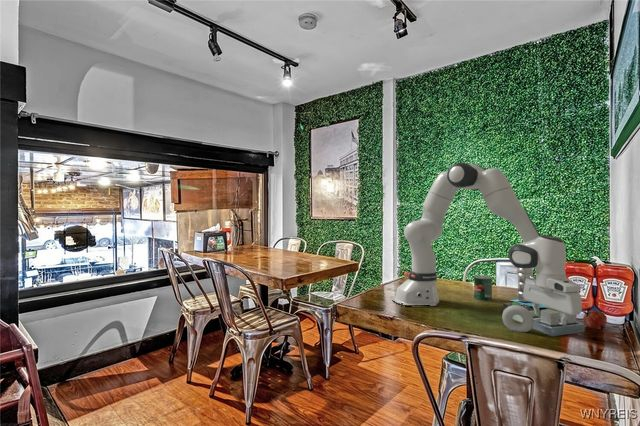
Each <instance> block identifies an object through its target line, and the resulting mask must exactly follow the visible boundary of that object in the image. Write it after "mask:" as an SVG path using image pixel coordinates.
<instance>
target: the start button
mask: <svg viewBox="0 0 640 426" xmlns="http://www.w3.org/2000/svg"><path fill="white" fill-rule="evenodd" d="M512 302H513V303H512V305H519V306H521V304H522V303H521V302H518V303H516V302H517V301H512ZM520 303H521V304H520Z"/></svg>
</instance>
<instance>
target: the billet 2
mask: <svg viewBox="0 0 640 426" xmlns="http://www.w3.org/2000/svg"><path fill="white" fill-rule="evenodd" d="M556 311H557V310H556ZM557 312H560V311H557ZM562 316H563V315H561V312H560V319H561V318H562ZM576 322H577V315H570V316H569V317H568V319H567V320H566V325H573V324H576Z"/></svg>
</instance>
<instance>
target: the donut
mask: <svg viewBox="0 0 640 426" xmlns="http://www.w3.org/2000/svg"><path fill="white" fill-rule="evenodd" d="M502 311H503V310H502ZM514 315H520V316H521V317H522V318H523V322H519V323H518V322H515V320H514V319H512V318H513V316H514ZM501 317H502V323H503V324H504V326H505V327H506V328H507V329H508V330H510V331H511V332H518V333H528V332H529V331H531V330H532V329H533V324H534V319H535V318H534V317H533V316H532V314H531V313H530V312H529V311H528V310H527V309H526V308H524V307H522V306H519V305H512V306H509V307H507V308H506V309H505V310H504V311H503V312H502V316H501Z"/></svg>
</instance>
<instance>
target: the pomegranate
mask: <svg viewBox="0 0 640 426" xmlns="http://www.w3.org/2000/svg"><path fill="white" fill-rule="evenodd" d="M582 313H583V314H584V315H583V318H582V320H583V324H585V326H586V327H587V328H589V329H592V330H601V329H602V328H604V329H606V327H605V326H606V325H607V321H608V317H607V315H606V314H605V313H604V312H602V311H600V310H596V309H592V310H589V311H582Z"/></svg>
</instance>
